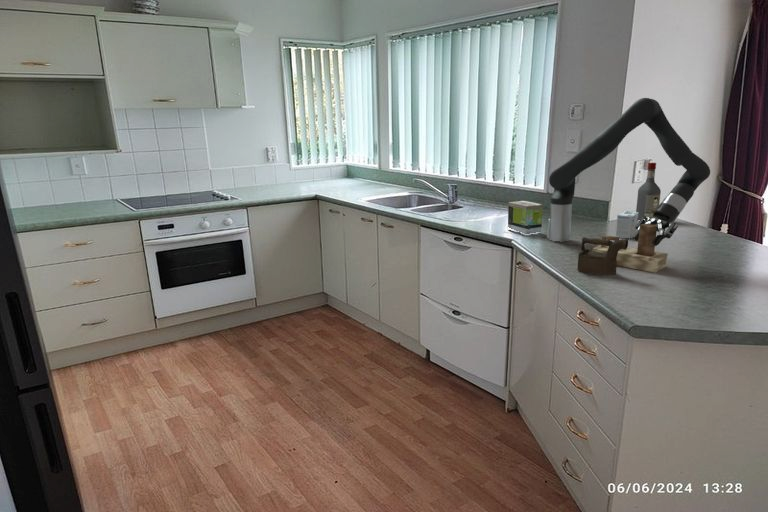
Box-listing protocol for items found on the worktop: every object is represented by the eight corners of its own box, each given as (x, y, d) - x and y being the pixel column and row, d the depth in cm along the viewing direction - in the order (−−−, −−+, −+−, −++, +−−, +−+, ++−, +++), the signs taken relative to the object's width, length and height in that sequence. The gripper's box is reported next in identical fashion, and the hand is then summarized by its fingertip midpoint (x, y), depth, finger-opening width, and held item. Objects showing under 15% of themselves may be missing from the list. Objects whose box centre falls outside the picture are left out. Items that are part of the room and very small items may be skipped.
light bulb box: (621, 232, 238) (623, 210, 235) (636, 234, 234) (639, 212, 231) (615, 237, 230) (617, 214, 227) (630, 239, 226) (633, 216, 223)
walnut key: (635, 265, 189) (639, 224, 185) (643, 264, 190) (647, 223, 186) (644, 268, 185) (649, 226, 181) (652, 267, 187) (657, 225, 182)
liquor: (632, 220, 262) (637, 162, 254) (645, 218, 265) (651, 161, 257) (646, 223, 254) (652, 164, 245) (660, 221, 257) (666, 163, 248)
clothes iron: (620, 278, 176) (623, 242, 173) (575, 270, 187) (577, 236, 183) (627, 272, 182) (630, 237, 178) (583, 265, 192) (585, 231, 188)
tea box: (542, 233, 243) (543, 204, 239) (525, 236, 239) (526, 206, 235) (523, 228, 256) (524, 199, 252) (506, 230, 253) (507, 201, 249)
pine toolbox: (591, 260, 198) (593, 236, 195) (603, 255, 204) (604, 232, 201) (656, 272, 180) (658, 246, 178) (666, 266, 187) (669, 241, 184)
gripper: (649, 199, 190) (623, 232, 190) (683, 205, 177) (656, 240, 177) (658, 211, 194) (633, 243, 193) (691, 217, 181) (665, 252, 180)
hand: (644, 242), depth 185 cm, fingers open, 8 cm apart
